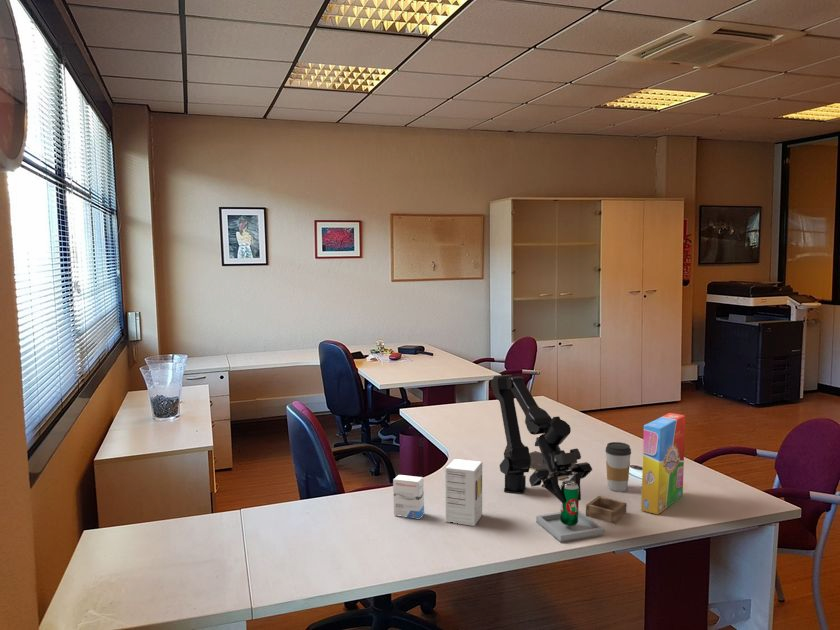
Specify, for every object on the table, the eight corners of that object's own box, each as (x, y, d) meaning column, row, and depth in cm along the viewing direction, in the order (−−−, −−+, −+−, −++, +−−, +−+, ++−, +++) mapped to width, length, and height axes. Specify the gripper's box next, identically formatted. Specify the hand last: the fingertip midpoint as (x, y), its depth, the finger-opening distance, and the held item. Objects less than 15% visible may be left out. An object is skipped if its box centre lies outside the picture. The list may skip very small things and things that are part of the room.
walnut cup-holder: (585, 515, 192) (586, 504, 192) (598, 506, 199) (598, 495, 199) (614, 523, 186) (614, 512, 186) (626, 513, 193) (626, 502, 193)
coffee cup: (631, 493, 209) (632, 449, 207) (605, 492, 211) (606, 448, 209) (628, 484, 217) (629, 442, 216) (603, 483, 219) (604, 441, 217)
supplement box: (474, 526, 185) (474, 471, 184) (444, 522, 189) (444, 467, 187) (483, 514, 194) (483, 460, 193) (454, 510, 198) (454, 457, 196)
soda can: (562, 517, 187) (563, 478, 186) (579, 521, 185) (580, 481, 184) (558, 524, 182) (559, 484, 181) (576, 527, 180) (576, 487, 179)
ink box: (424, 513, 195) (424, 476, 194) (419, 520, 191) (419, 482, 189) (399, 510, 198) (398, 473, 197) (393, 516, 193) (392, 479, 192)
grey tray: (560, 542, 175) (560, 535, 175) (536, 522, 188) (536, 515, 188) (604, 535, 179) (604, 528, 179) (577, 515, 192) (577, 509, 192)
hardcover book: (557, 482, 222) (557, 476, 222) (508, 465, 240) (508, 459, 239) (585, 471, 232) (585, 465, 232) (536, 456, 250) (536, 450, 249)
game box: (657, 515, 192) (660, 428, 189) (640, 510, 195) (642, 425, 193) (683, 495, 207) (685, 414, 204) (666, 491, 211) (668, 411, 208)
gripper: (534, 443, 181) (555, 494, 172) (589, 436, 188) (612, 484, 179) (520, 461, 190) (539, 510, 181) (573, 453, 196) (594, 501, 187)
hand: (572, 501), depth 182 cm, fingers closed on soda can, 5 cm apart
